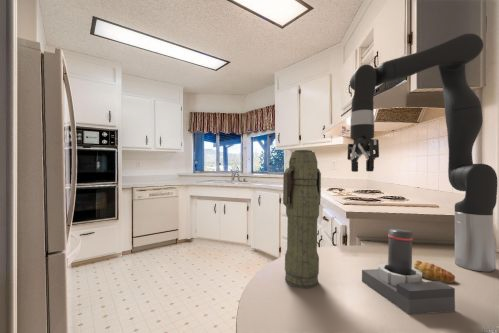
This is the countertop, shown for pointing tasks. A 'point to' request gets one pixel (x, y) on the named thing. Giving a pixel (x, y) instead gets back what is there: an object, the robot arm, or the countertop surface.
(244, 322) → the countertop surface
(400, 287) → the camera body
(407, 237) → the lens
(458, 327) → the countertop surface
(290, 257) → the thermos
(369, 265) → the countertop surface
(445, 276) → the pastry
